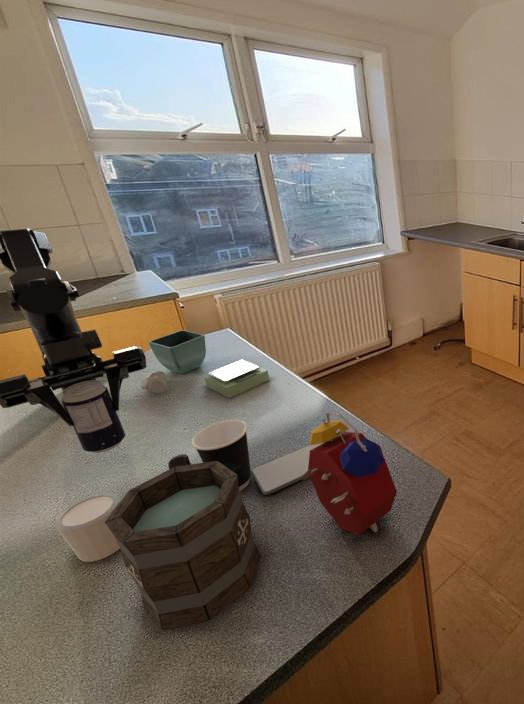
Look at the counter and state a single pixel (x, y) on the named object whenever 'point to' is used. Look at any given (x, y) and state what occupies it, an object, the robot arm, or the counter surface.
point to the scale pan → (233, 371)
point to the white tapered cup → (89, 527)
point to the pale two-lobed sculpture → (155, 382)
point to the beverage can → (93, 416)
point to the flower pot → (180, 350)
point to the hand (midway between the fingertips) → (94, 417)
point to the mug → (186, 541)
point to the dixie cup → (226, 447)
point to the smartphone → (282, 470)
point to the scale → (237, 383)
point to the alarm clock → (350, 476)
